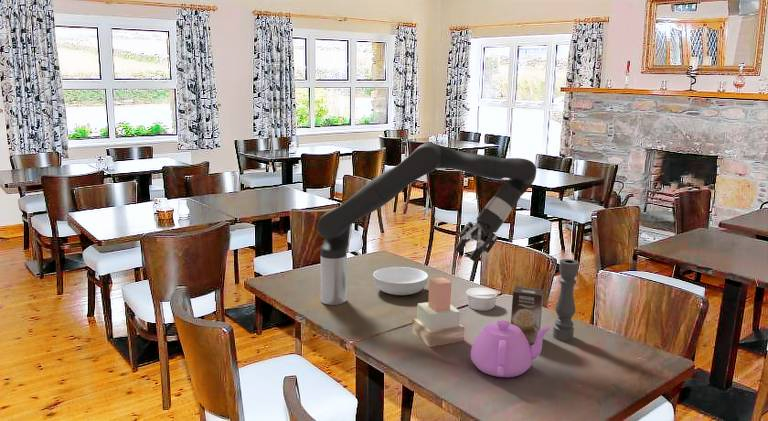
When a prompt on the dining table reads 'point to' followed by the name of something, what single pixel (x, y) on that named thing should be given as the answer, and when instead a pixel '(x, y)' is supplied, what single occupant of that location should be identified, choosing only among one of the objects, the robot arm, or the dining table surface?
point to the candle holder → (566, 300)
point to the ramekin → (481, 298)
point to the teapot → (505, 349)
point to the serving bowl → (400, 280)
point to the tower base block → (437, 334)
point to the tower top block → (437, 317)
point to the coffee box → (527, 311)
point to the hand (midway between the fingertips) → (464, 255)
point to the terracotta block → (439, 294)
